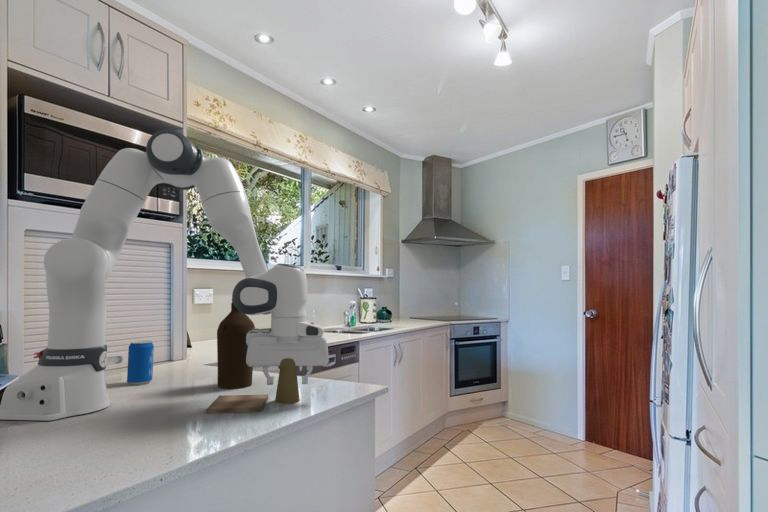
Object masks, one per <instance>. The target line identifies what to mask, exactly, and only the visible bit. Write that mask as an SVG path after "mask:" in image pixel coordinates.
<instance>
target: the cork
mask: <svg viewBox="0 0 768 512" xmlns="http://www.w3.org/2000/svg"><path fill="white" fill-rule="evenodd" d="M277 368H278V369H279V374H278V380H277V384H276V385H277V386H276V393H275V398H274V402H275V403H276V404H278V405H279V404H280V405H291V404H296V403H299V402H300V391H299V381H298V380H299V379H298V372H297V369H298V368H299V366H296V365H295V361H294V360H293V359H290V358H286V359H283V360H282V361H281V363H280V366H277Z"/></svg>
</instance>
